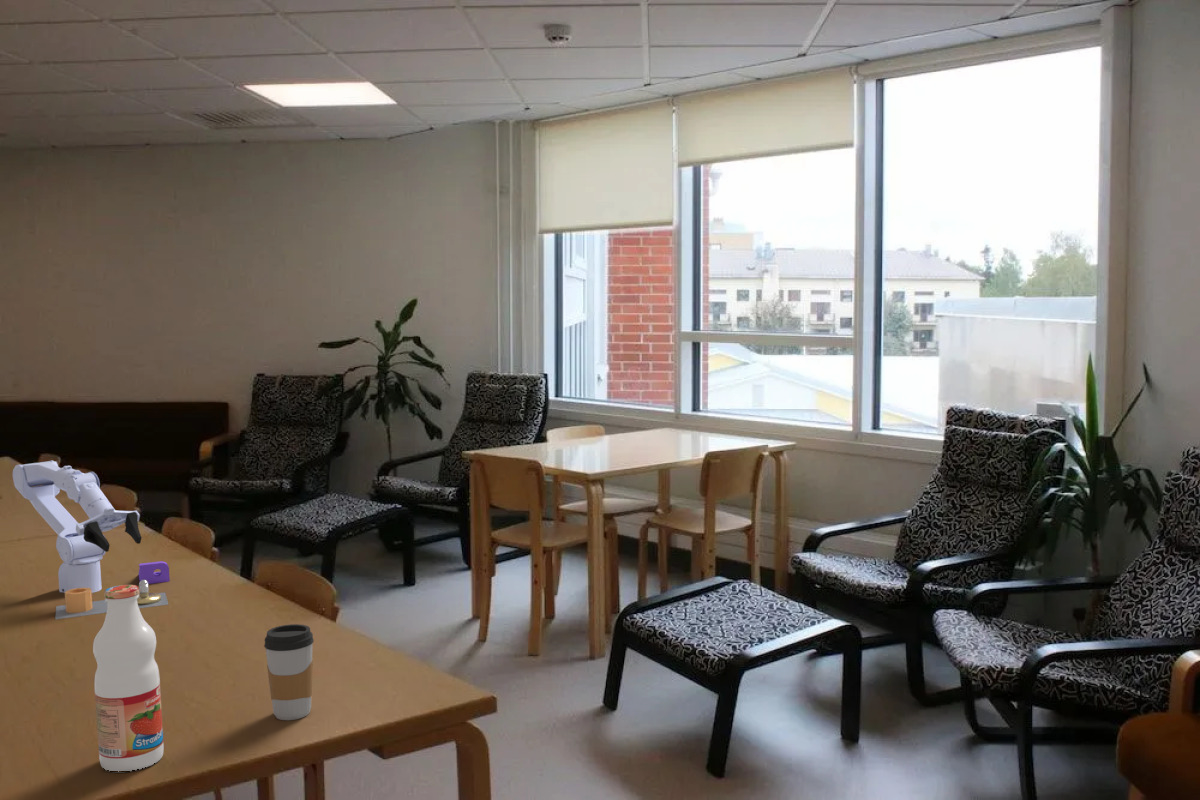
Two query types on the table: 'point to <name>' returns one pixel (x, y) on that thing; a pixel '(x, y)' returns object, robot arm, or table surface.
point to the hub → (146, 594)
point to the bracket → (154, 577)
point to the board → (101, 608)
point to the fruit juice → (127, 686)
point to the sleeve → (78, 600)
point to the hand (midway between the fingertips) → (123, 544)
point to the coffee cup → (290, 670)
